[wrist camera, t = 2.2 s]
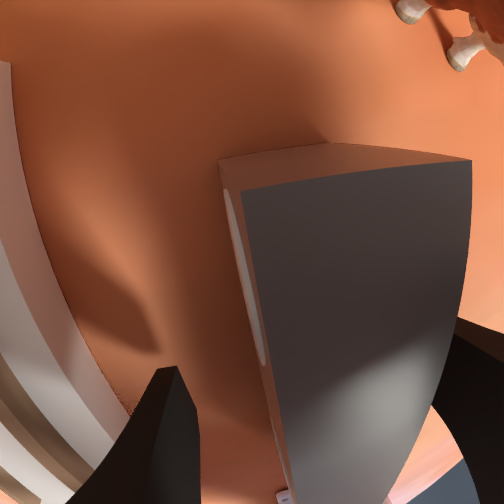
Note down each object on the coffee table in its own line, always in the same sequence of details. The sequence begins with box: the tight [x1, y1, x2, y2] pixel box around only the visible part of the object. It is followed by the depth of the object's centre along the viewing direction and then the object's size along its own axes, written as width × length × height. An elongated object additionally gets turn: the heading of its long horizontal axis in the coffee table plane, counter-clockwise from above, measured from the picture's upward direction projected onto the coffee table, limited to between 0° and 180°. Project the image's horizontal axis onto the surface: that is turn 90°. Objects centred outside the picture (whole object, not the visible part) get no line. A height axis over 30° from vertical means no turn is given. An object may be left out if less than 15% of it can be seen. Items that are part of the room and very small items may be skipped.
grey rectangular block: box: [217, 143, 472, 504], centre depth 8 cm, size 12×3×6 cm, turn 10°
